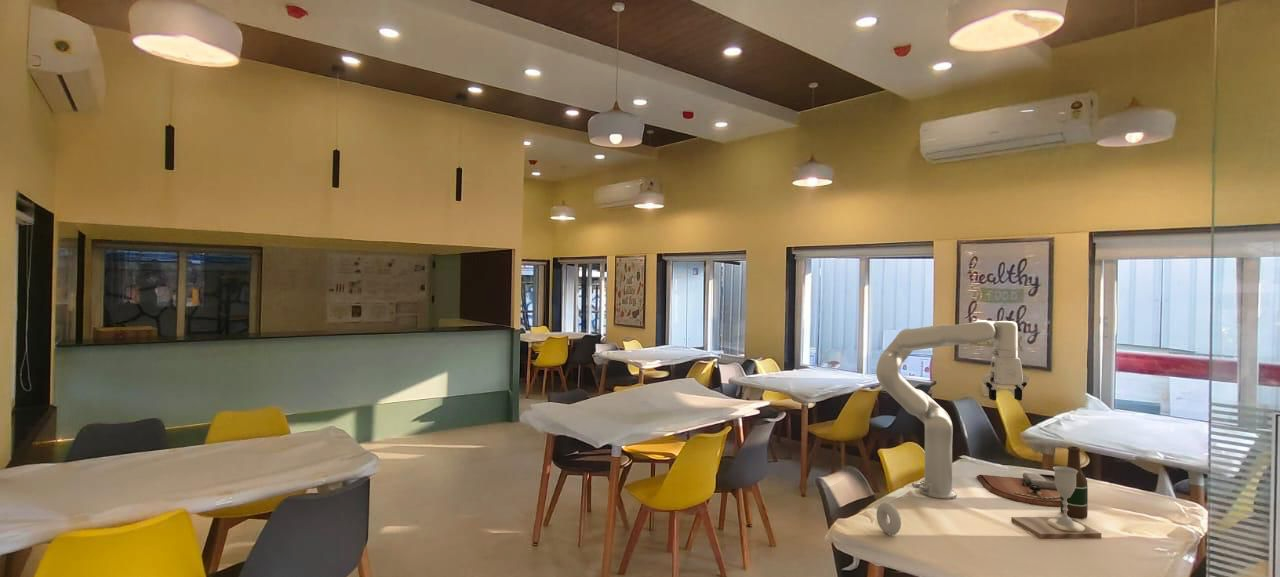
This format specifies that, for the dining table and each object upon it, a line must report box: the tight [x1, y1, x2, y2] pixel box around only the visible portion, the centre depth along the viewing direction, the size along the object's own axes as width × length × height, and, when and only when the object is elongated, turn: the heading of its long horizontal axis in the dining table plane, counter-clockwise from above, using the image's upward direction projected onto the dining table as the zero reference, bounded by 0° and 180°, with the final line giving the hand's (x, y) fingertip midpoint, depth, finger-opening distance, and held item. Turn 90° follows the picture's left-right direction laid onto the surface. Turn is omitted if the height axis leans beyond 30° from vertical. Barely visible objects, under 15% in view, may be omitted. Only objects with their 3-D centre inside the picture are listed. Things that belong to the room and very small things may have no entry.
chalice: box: [1052, 465, 1078, 527], centre depth 194 cm, size 7×7×18 cm
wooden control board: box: [976, 472, 1060, 508], centre depth 231 cm, size 31×5×30 cm
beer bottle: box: [1059, 445, 1089, 520], centre depth 208 cm, size 8×8×24 cm
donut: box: [875, 501, 902, 536], centre depth 191 cm, size 10×3×10 cm, turn 14°
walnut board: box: [1010, 516, 1102, 540], centre depth 195 cm, size 20×14×2 cm
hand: (1005, 399), depth 220 cm, fingers open, 9 cm apart
